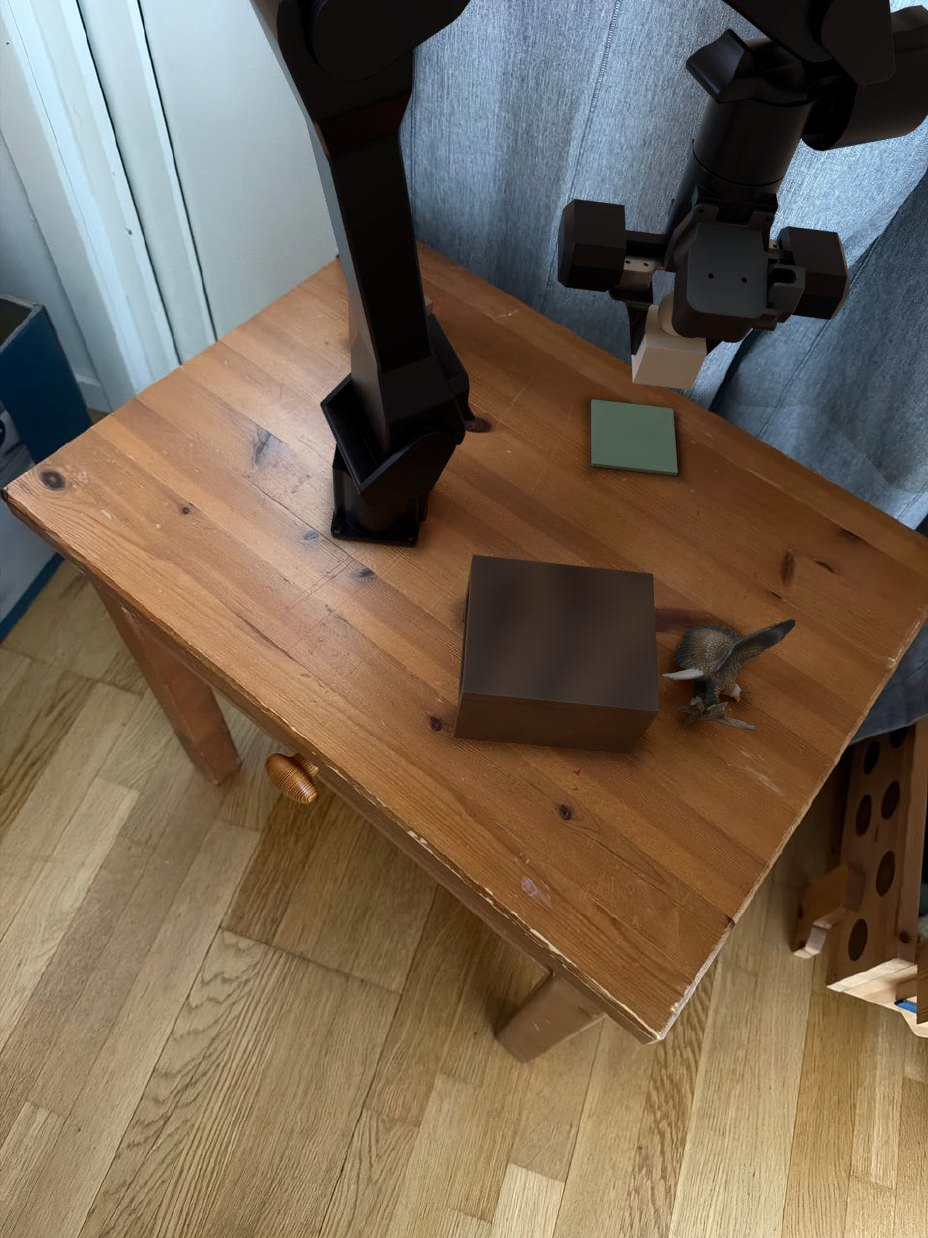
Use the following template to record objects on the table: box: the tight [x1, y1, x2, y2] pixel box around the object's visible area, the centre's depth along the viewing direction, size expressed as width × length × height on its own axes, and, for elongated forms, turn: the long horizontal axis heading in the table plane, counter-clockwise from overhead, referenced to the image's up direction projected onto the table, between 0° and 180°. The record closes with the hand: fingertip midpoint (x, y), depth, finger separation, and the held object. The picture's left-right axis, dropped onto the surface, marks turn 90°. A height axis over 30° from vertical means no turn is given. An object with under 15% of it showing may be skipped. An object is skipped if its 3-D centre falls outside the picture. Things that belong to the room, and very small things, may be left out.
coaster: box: [590, 399, 679, 477], centre depth 74 cm, size 7×7×1 cm
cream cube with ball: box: [631, 289, 708, 391], centre depth 64 cm, size 4×4×7 cm
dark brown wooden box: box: [452, 554, 661, 754], centre depth 59 cm, size 12×10×7 cm
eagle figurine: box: [661, 617, 797, 731], centre depth 61 cm, size 8×7×9 cm
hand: (664, 354), depth 66 cm, fingers closed on cream cube with ball, 4 cm apart
